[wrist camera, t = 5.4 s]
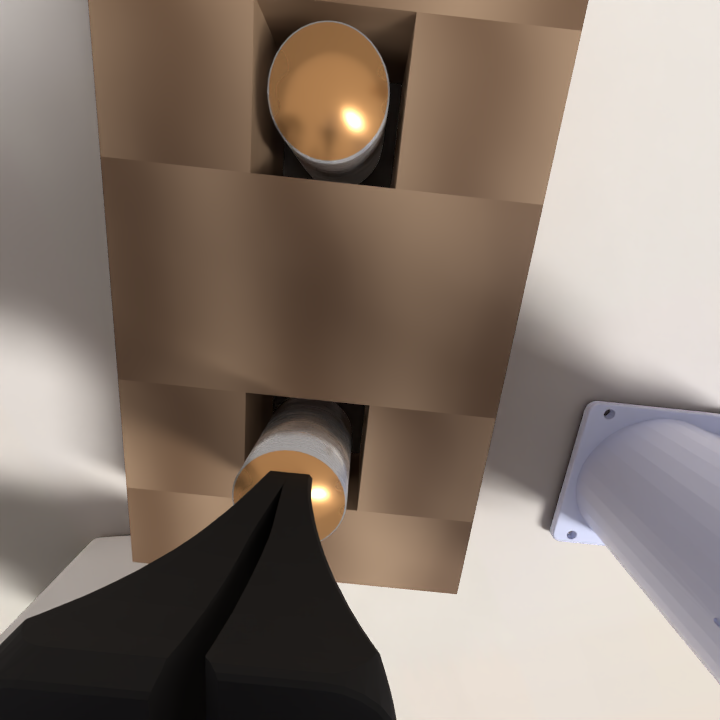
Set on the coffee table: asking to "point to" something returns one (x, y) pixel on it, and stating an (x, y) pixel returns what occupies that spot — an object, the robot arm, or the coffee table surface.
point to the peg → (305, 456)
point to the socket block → (322, 259)
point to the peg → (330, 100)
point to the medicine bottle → (84, 576)
